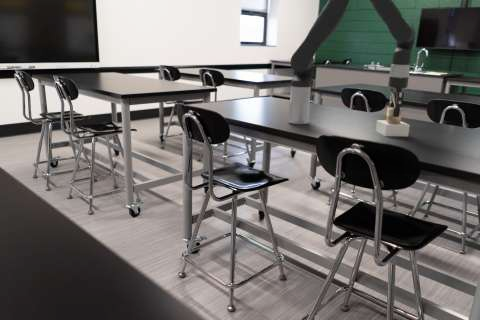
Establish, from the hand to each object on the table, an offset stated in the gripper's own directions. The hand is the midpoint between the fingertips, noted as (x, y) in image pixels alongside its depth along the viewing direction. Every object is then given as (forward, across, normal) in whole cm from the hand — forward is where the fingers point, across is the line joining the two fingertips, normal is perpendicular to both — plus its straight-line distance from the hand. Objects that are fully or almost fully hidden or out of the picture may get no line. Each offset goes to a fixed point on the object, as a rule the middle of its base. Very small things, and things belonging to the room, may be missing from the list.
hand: (393, 115), depth 170 cm
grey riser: (+8, 0, 0) cm, 8 cm away
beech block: (+3, 0, 0) cm, 3 cm away
